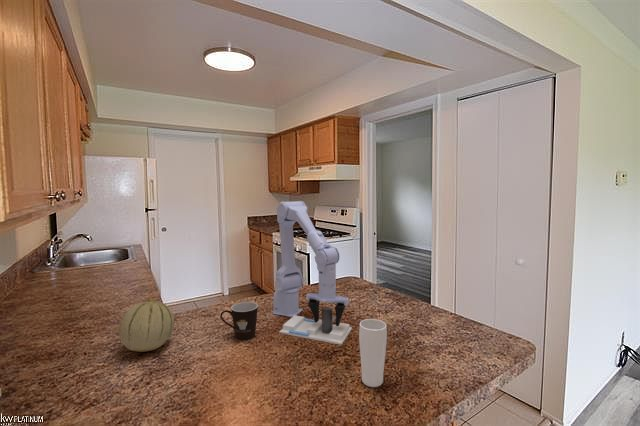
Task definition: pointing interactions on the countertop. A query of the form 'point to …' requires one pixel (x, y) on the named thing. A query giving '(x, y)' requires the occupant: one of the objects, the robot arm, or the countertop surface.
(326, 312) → the dark grey rounded piece
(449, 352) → the countertop surface
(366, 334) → the drinking glass
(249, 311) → the coffee mug
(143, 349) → the cantaloupe
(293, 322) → the white slotted board
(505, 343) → the countertop surface
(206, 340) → the countertop surface
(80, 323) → the countertop surface
